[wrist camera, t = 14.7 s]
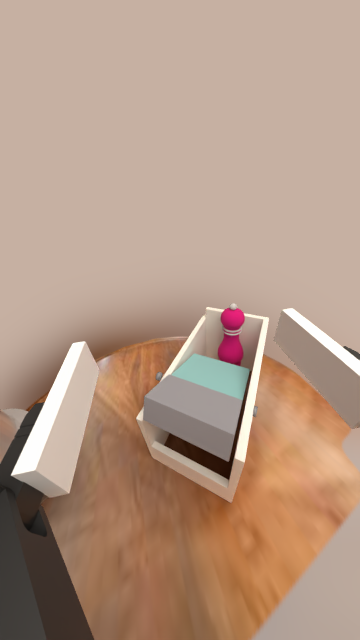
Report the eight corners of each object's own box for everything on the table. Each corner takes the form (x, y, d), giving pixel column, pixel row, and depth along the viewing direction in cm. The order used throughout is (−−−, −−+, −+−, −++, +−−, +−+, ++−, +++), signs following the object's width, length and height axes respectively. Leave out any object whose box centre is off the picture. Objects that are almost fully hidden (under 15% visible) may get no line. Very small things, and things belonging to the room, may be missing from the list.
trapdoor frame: (149, 456, 42) (129, 407, 30) (202, 354, 66) (201, 306, 55) (234, 505, 35) (249, 465, 23) (258, 370, 59) (271, 318, 47)
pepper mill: (222, 353, 60) (224, 296, 50) (245, 360, 56) (252, 299, 46) (213, 368, 55) (213, 307, 45) (238, 376, 51) (244, 312, 41)
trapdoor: (142, 419, 30) (144, 396, 29) (192, 366, 50) (194, 350, 49) (228, 462, 25) (234, 435, 24) (246, 383, 44) (250, 366, 43)
